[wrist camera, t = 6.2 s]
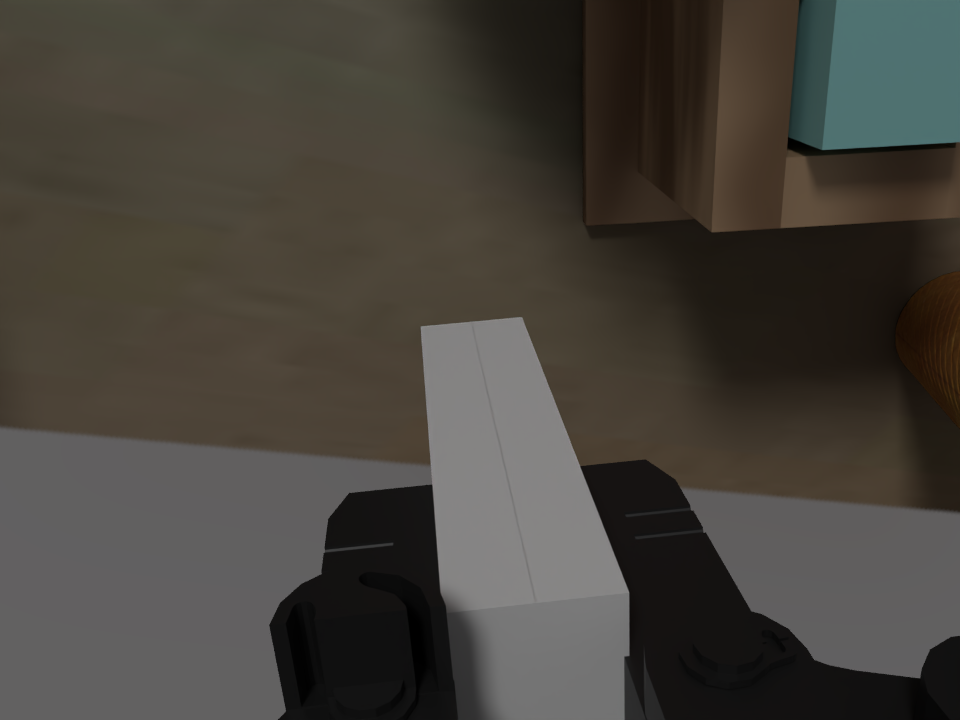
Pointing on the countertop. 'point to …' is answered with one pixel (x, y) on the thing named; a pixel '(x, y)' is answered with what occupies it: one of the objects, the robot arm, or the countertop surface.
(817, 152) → the chute
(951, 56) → the block
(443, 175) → the countertop surface
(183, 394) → the countertop surface
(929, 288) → the disposable coffee cup
